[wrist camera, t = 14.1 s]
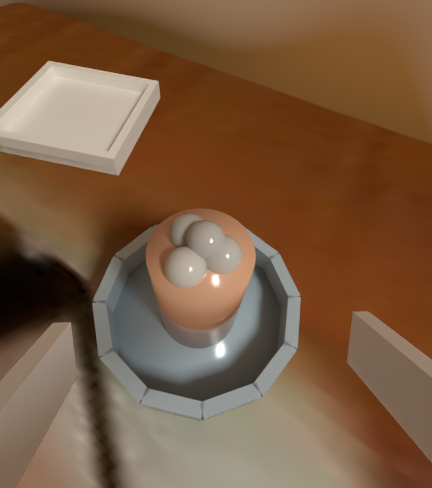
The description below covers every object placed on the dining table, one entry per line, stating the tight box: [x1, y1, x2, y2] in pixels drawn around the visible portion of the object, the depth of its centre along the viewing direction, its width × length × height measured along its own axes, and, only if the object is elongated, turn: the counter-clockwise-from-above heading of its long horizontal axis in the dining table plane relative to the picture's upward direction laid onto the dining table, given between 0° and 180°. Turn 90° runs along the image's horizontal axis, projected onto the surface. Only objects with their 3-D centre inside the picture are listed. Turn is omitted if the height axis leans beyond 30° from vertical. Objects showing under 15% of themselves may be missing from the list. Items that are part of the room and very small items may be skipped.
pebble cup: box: [146, 208, 256, 348], centre depth 21 cm, size 6×6×12 cm
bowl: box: [92, 224, 301, 421], centre depth 25 cm, size 16×16×4 cm
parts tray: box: [0, 61, 160, 176], centre depth 39 cm, size 16×16×2 cm
